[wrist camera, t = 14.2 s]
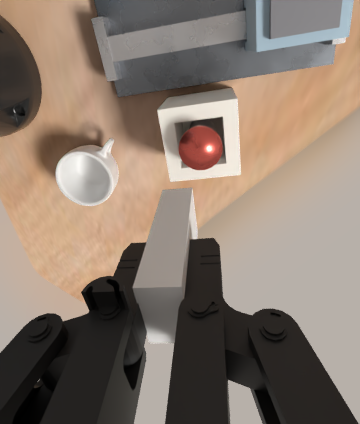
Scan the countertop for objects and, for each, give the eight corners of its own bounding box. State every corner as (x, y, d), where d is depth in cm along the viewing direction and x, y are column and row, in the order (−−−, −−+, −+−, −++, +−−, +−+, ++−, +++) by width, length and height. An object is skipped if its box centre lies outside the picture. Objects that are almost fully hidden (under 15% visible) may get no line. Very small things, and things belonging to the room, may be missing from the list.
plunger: (187, 149, 36) (181, 172, 29) (182, 114, 33) (175, 130, 27) (221, 145, 35) (224, 167, 29) (218, 109, 33) (220, 124, 26)
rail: (119, 95, 35) (112, 100, 33) (95, -2, 30) (84, -6, 28) (331, 63, 31) (342, 64, 29) (343, -55, 26) (358, -66, 24)
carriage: (245, 50, 30) (257, 53, 22) (243, -2, 28) (257, -20, 20) (313, 39, 29) (352, 37, 21) (318, -17, 27) (362, -42, 19)
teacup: (107, 197, 43) (95, 216, 39) (63, 168, 42) (45, 184, 37) (142, 149, 39) (133, 163, 34) (94, 114, 37) (78, 124, 32)
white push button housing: (177, 160, 39) (170, 184, 32) (167, 97, 35) (157, 110, 28) (235, 154, 38) (241, 178, 31) (232, 87, 34) (237, 98, 27)
